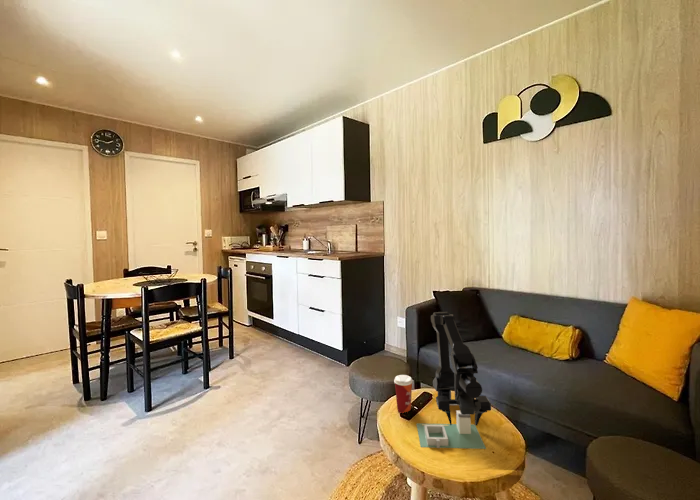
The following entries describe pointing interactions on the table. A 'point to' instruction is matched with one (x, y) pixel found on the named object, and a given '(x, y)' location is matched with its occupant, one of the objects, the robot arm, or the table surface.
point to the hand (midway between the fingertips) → (463, 424)
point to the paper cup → (403, 392)
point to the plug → (463, 422)
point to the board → (448, 436)
